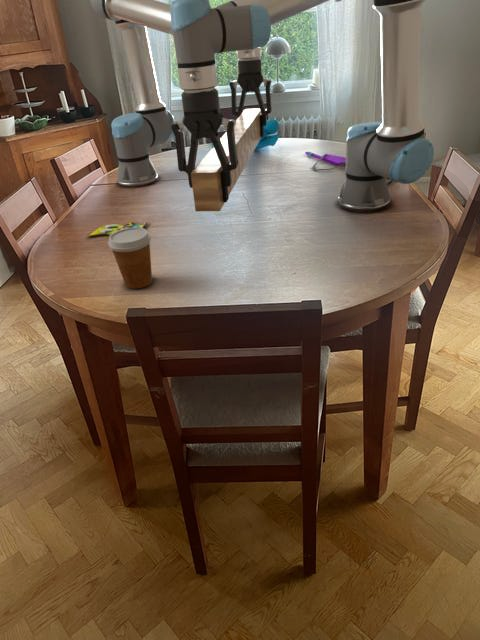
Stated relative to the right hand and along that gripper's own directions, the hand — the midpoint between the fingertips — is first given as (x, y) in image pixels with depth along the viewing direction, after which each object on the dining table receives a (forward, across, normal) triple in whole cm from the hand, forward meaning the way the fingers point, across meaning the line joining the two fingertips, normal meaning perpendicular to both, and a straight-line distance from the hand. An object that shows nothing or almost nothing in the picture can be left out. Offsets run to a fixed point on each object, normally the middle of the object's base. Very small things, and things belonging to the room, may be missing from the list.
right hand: (212, 200), depth 110 cm
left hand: (+1, 0, +65) cm, 65 cm away
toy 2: (+17, -10, +109) cm, 111 cm away
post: (+1, 0, +32) cm, 32 cm away
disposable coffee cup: (+16, -18, -10) cm, 26 cm away
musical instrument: (+17, +23, +86) cm, 91 cm away
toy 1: (+16, -35, +22) cm, 44 cm away
